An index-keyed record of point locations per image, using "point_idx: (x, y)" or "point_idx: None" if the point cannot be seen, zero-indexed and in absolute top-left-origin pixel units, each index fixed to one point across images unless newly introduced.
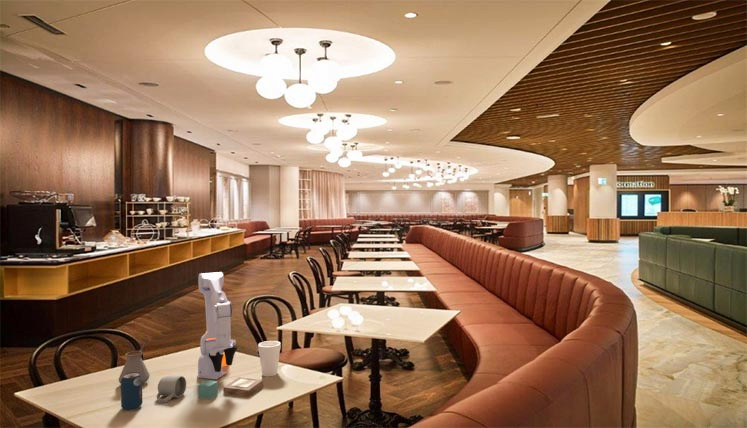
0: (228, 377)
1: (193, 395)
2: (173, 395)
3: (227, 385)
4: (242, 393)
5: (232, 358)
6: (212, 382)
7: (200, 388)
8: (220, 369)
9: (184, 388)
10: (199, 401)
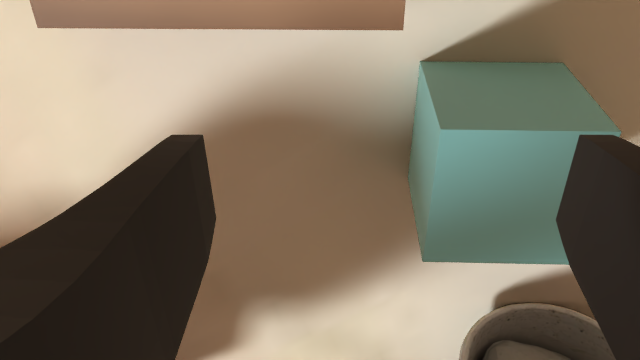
0: (14, 194)
1: None
2: None
3: (334, 15)
4: None
5: (127, 196)
6: (485, 166)
7: None
8: (627, 149)
9: (472, 344)
10: (627, 122)
